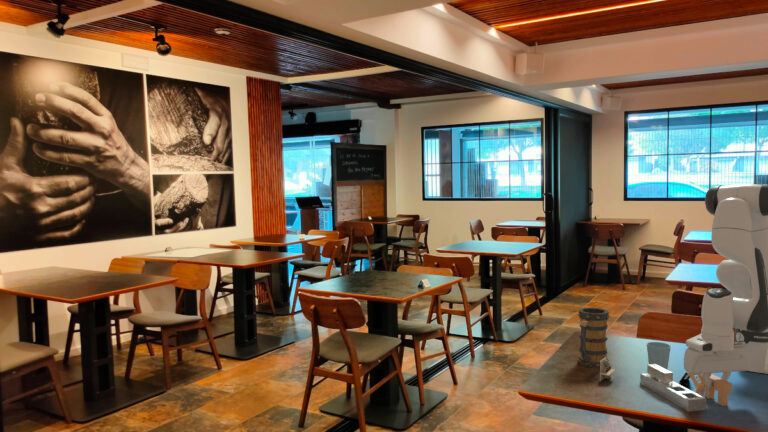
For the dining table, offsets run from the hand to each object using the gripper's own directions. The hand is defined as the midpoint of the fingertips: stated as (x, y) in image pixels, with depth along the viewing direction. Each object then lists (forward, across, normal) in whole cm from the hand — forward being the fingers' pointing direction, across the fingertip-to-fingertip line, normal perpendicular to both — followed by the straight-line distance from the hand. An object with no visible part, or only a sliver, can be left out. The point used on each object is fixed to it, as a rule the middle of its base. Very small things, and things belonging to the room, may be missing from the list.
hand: (716, 385), depth 179 cm
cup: (+5, +2, -26) cm, 27 cm away
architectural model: (+5, +23, -24) cm, 34 cm away
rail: (+5, +11, -6) cm, 13 cm away
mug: (+5, +20, -40) cm, 45 cm away
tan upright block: (+5, 0, 0) cm, 5 cm away
